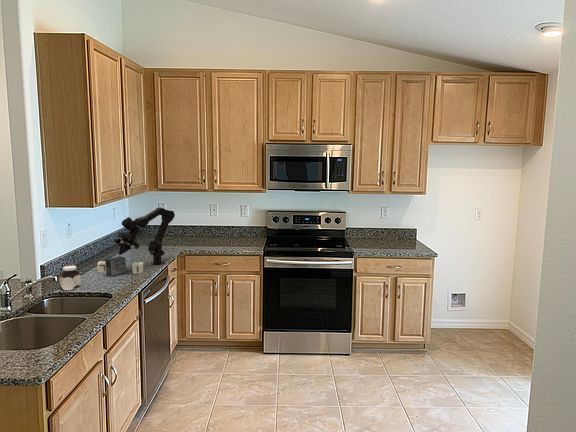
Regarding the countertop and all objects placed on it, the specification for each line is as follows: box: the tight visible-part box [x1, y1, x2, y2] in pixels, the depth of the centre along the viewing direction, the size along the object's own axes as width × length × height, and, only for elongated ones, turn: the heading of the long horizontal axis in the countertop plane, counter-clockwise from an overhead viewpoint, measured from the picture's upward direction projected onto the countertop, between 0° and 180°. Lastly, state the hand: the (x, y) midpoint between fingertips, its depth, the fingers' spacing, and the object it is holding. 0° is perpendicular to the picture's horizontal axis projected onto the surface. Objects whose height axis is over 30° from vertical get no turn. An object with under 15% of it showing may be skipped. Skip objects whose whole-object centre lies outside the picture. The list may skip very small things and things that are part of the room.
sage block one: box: [131, 261, 144, 275], centre depth 287 cm, size 6×6×6 cm
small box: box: [104, 255, 127, 277], centre depth 282 cm, size 11×6×10 cm, turn 140°
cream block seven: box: [96, 260, 106, 273], centre depth 289 cm, size 6×6×6 cm
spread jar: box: [59, 265, 82, 292], centre depth 251 cm, size 12×11×12 cm
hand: (119, 254), depth 283 cm, fingers closed
